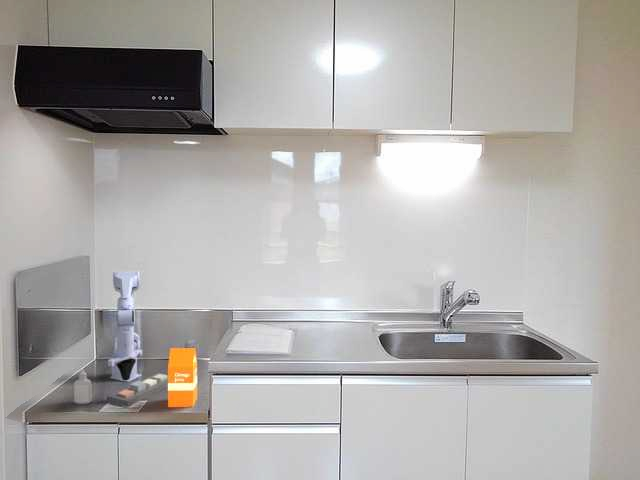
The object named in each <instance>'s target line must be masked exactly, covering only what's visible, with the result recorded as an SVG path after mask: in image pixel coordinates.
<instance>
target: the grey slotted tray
mask: <svg viewBox="0 0 640 480" xmlns="http://www.w3.org/2000/svg"><path fill="white" fill-rule="evenodd" d="M158 374H160V373H158V372H157V373H154V374H152V375H150V376H148V377H146V378H144V379H141V380H139V381H140V382H143V381H145V380H147V379H153V377H154V376H156V375H158ZM162 374H163V373H162ZM163 375H165V374H163ZM166 388H168V378H167V379H165V380H163V381H157V383H156V384H154V385H152V386H150V387H149V386H146V389H144V390H142V391H140V392H135V391H134V394H133V395H131V396H129V397H127V398H123V397H119V396H117V393H119V392H121V391H123V390H125V389H127V390H130V385H128V386H126V387H123V388H122V389H121V388H120V389H119V390H117V391H115V392H112V393H110V394H109V395H107V396H106V402H107V403H112V404H115V405H116V404H117V405H120V406H125V407H130V406H132V405H134V404H136V403H138V402H140V401H142V400H143V399H146V398H148V397H150V396H152V395H153V394H156V393H158V392H160V391H162V390H163V389H166Z"/></svg>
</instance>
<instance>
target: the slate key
mask: <svg viewBox="0 0 640 480" xmlns="http://www.w3.org/2000/svg"><path fill="white" fill-rule="evenodd" d="M140 381H141V380H137V381H135V382H132V383H130V384H129V386H130V390H131V391H135V392H140V391H142V390H144V389H146V383H145V382H140Z"/></svg>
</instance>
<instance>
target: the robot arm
mask: <svg viewBox="0 0 640 480" xmlns="http://www.w3.org/2000/svg"><path fill="white" fill-rule="evenodd" d="M112 285H113V289H114V291H115V292H118V293H119V294H120V296H119V297H118V299H117V301H116V302H117V303H116V304H117V305H116V312H115V313H114V314H115V316H114V317H115V319H114V321H115V328H116V336H115V337H114V342H113V355H114V356H113V357H111V358H109V359H108V360H107V366H108V367H111V376H110V377H109V378H110V379H113V380H116V381H121V382H127V383H128V382H131V381H133V380H136V379H138V378H140V377H142V374H140V373H138V366H137V365H138V358H137V357H138V356H142V355H143V349H141V341H140V335H139V334H138V333H137V332H135V324H136V311H135V299H134V297H133V296H134V293H135V292H136V291H138V290H139V288H140V270H118V271H117V270H114V271H113V273H112Z"/></svg>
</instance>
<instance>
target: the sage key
mask: <svg viewBox="0 0 640 480" xmlns="http://www.w3.org/2000/svg"><path fill="white" fill-rule="evenodd" d="M167 378H168V374H164V375H163V373H159V374H158V375H156V376H154V377H153V380H157V381H163V380H165V379H167Z"/></svg>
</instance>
